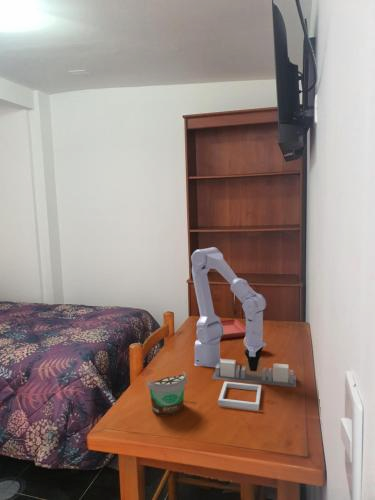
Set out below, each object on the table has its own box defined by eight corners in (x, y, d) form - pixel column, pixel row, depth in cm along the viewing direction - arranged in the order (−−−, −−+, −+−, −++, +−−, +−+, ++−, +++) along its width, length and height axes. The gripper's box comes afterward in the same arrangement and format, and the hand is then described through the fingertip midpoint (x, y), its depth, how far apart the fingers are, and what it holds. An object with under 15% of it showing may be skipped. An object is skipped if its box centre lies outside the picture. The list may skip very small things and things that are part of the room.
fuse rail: (211, 380, 130) (211, 370, 130) (215, 369, 138) (215, 360, 138) (296, 388, 124) (296, 378, 123) (295, 377, 131) (295, 367, 131)
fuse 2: (272, 381, 128) (273, 367, 127) (273, 377, 131) (273, 363, 130) (288, 382, 126) (288, 368, 126) (288, 378, 129) (288, 364, 129)
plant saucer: (250, 337, 171) (250, 330, 171) (212, 342, 166) (212, 334, 166) (235, 325, 188) (235, 318, 188) (200, 328, 184) (200, 322, 183)
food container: (156, 423, 106) (155, 389, 105) (147, 412, 111) (146, 380, 110) (194, 411, 111) (194, 379, 110) (185, 401, 117) (184, 370, 116)
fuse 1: (220, 375, 132) (220, 362, 132) (221, 372, 135) (221, 358, 134) (234, 377, 131) (234, 363, 130) (235, 373, 134) (235, 360, 133)
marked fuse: (246, 373, 130) (246, 359, 129) (246, 369, 133) (246, 356, 132) (260, 374, 129) (260, 360, 128) (261, 371, 131) (261, 357, 131)
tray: (218, 406, 114) (218, 399, 114) (224, 387, 125) (224, 381, 125) (258, 411, 111) (258, 404, 111) (261, 391, 122) (261, 385, 122)
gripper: (265, 339, 121) (264, 379, 122) (267, 324, 135) (266, 360, 136) (242, 337, 122) (242, 377, 124) (247, 323, 136) (246, 358, 138)
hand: (253, 368), depth 130 cm, fingers closed on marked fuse, 3 cm apart
